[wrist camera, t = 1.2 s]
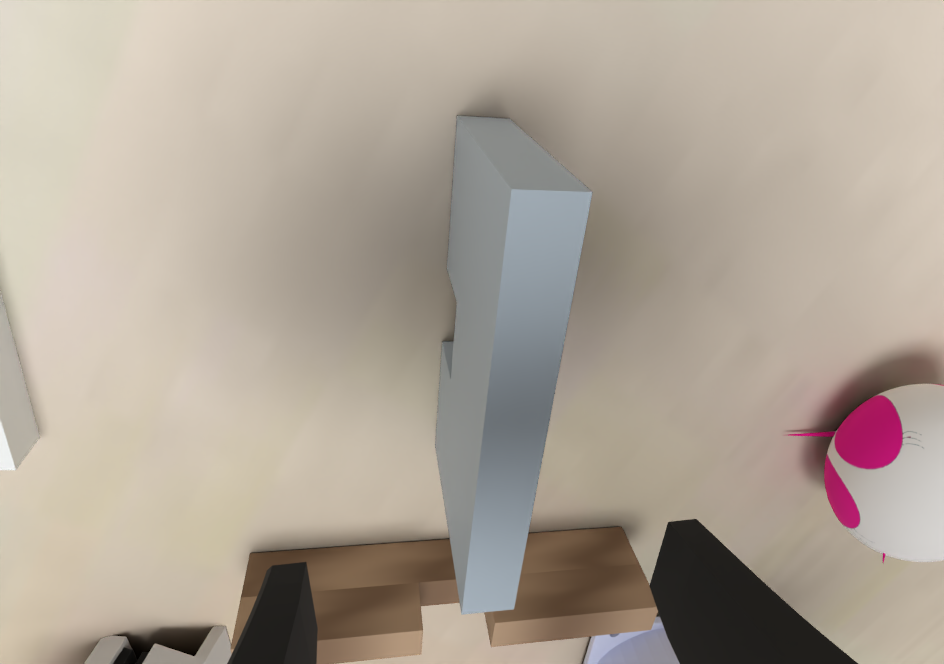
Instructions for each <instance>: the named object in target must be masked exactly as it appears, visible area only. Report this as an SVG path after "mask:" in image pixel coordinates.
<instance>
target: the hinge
mask: <svg viewBox="0 0 944 664" xmlns="http://www.w3.org/2000/svg"><path fill="white" fill-rule="evenodd" d="M230 649H231V644H230V640H229V637H228V633H227V630H226V627H225V626H213V628H212V629H211V631H210V632H209V634H208V636H207V637H206V639H205V640H204V642H203V644H202V645H201V647H200V649H199V650H198V652H197V653H196V655H195V656H192V655H189V654H186V653H183V652H180V651H177V650H174V649H171V648H168V647H165V646H162V645H159V644H155V643H154V645H153V647H152V648H151V650H150V652H149V653H148V652H142V654H141V655H140V657H139V659H138V660H137V657H136V655H135V653H134V650H133V649H132V648H131V646H130V644H129V642H128V639H127V637H123V636H108V637H104V638H101V639H100V641H99V642H98V644H97V645H96V647H95V648H94V649H93V651H92V652H91V654H90V655H89V657H88V658H87V660H86V661H85V663H84V664H227V663H228V661H229V659H230V657H231V650H230Z"/></svg>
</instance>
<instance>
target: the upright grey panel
mask: <svg viewBox="0 0 944 664" xmlns="http://www.w3.org/2000/svg"><path fill="white" fill-rule="evenodd" d="M591 197H592V191H591V190H589V189H588V188H587V187H586V186H585V185H584V184H583V183H582V182H580V181H579V180H578V179H577V178H576V177H575V176H574V175H573V174H571V173H570V172H569V171H568V170H567V169H566V168H565V167H564V166H562V165H561V164H560V163H559V162H558V161H557V160H556V159H554V158H553V157H552V156H551V155H550V154H549V153H548V152H547V151H545V150H544V149H543V148H542V147H541V146H540V145H539V144H538V143H536V142H535V141H534V140H533V139H532V138H531V137H530V136H528V135H527V134H526V133H525V132H524V131H523V130H522V129H521V128H519V127H518V126H517V125H516V124H515V123H514V122H513V121H512V120H510V119H508V118H491V117H473V116H457V123H456V138H455V153H454V168H453V184H452V199H451V214H450V229H449V244H448V260H447V271H448V274H449V278H450V281H451V284H452V288H453V291H454V295H455V298H456V301H457V305H456V318H455V331H454V341H450V342H442V351H441V366H440V381H439V396H438V411H437V427H436V442H435V448H436V454H437V461H438V467H439V473H440V480H441V486H442V493H443V499H444V505H445V512H446V518H447V524H448V531H449V537H450V544H451V550H452V556H453V563H454V569H455V576H456V582H457V588H458V595H459V601H460V607H461V614H472V613H482V612H492V611H502V610H513V609H514V606H515V601H516V596H517V590H518V585H519V580H520V574H521V569H522V564H523V558H524V553H525V548H526V543H527V537H528V532H529V527H530V521H531V516H532V511H533V505H534V500H535V495H536V489H537V484H538V479H539V473H540V468H541V463H542V458H543V452H544V447H545V442H546V436H547V431H548V426H549V420H550V415H551V410H552V404H553V399H554V394H555V389H556V383H557V378H558V373H559V367H560V362H561V357H562V351H563V346H564V341H565V335H566V330H567V325H568V319H569V314H570V309H571V304H572V298H573V293H574V288H575V282H576V277H577V272H578V266H579V261H580V256H581V250H582V245H583V240H584V234H585V229H586V224H587V219H588V213H589V208H590V203H591Z"/></svg>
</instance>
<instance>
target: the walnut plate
mask: <svg viewBox="0 0 944 664" xmlns="http://www.w3.org/2000/svg"><path fill="white" fill-rule="evenodd" d="M299 562H306V563H307V569H308V575H309V581H310V586H311V592H312V598H313V604H314V610H315V616H316V621H317V627H318V634H317V663H316V664H336V663H345V662H355V661H364V660H373V659H383V658H392V657H402V656H411V655H420V654H421V651H422V636H423V626H422V615H421V606H428V605H439V604H450V603H460V601H459V595H458V588H457V582H456V576H455V569H454V563H453V556H452V550H451V544H450V539H444V540H430V541H416V542H402V543H388V544H374V545H360V546H346V547H332V548H319V549H305V550H291V551H277V552H263V553H250V556H249V561H248V566H247V571H246V576H245V581H244V585H243V590H242V595H241V600H240V605H239V610H238V615H237V620H236V625H235V629H234V634H233V639H232V644H231V649H230V650H231V655H232V653H233V651H234V648H235V646H236V644H237V642H238V640H239V638H240V635H241V633H242V631H243V629H244V627H245V624H246V622H247V620H248V618H249V615H250V613H251V611H252V608H253V606H254V603H255V601H256V598H257V596H258V593H259V591H260V588H261V586H262V583H263V580H264V577H265V574H266V571H267V570H268V569H269V568H270V567H271V566H272V565H281V564H290V563H299ZM657 613H658V610H657V607H656V604H655V601H654V598H653V595H652V592H651V589H650V585H649V583H648V581H647V579H646V577H645V574H644V572H643V570H642V568H641V566H640V564H639V562H638V560H637V558H636V556H635V554H634V551H633V549H632V547H631V545H630V543H629V541H628V539H627V537H626V535H625V533H624V530H623V528H622V527H611V528H597V529H583V530H569V531H555V532H541V533H528V537H527V543H526V548H525V553H524V558H523V564H522V569H521V574H520V580H519V585H518V590H517V596H516V601H515V606H514V609H513V610H502V611H492V612H485V618H486V623H487V628H488V633H489V639H490V644H491V647H496V646H505V645H514V644H524V643H533V642H543V641H552V640H561V639H571V638H580V637H590V636H599V635H608V634H618V633H627V632H637V631H646V630H651V629H652V626H653V623H654V621H655V618H656V616H657Z"/></svg>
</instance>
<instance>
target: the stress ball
mask: <svg viewBox="0 0 944 664" xmlns="http://www.w3.org/2000/svg"><path fill="white" fill-rule="evenodd" d="M790 435H792V436H821V437H833V438H832V440H831V443H830V446H829V448H828V451H827V455H826V460H825V468H824V480H825V488H826V492H827V496H828V499H829V502H830V505H831V507H832V509H833V511H834V513H835V515H836V516H837V518H838V519H839V521H840V522H841V523H842V525H843V526H844V527H845V528H846V529H847V531H848V532H849V533H850V534H851V535H853V536H854V537H855V538H856V539H857V540H859V541H860V542H861V543H863V544H864V545H866V546H867V547H869V548H871V549H873V550H875V551H877V552H879V553H881V554H883V562H884V558H885V555H886V556H889V557H893V558H896V559H900V560H906V561H914V562H935V561H943V560H944V385H941V384H913V385H905V386H900V387H897V388H893V389H890V390H887V391H884V392H882V393H880V394H878V395H876V396H874V397H872V398H870V399H868V400H867V401H865V402H864V403H862V404H861V405H860V406H858V407H857V408H856V409H855V410H854V411H853V412H852V413H850V414H849V415H848V417H847V418H846V419H845V420H844V421H843V422H842V424H841V425H840V427H839V428H838V430H837V431H832V432H818V433H804V434H790Z"/></svg>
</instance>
